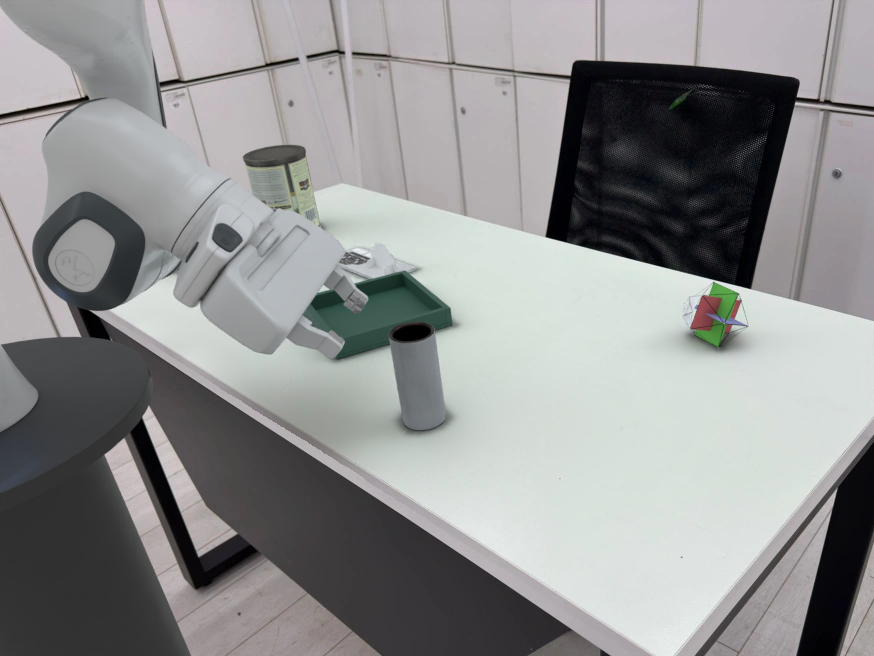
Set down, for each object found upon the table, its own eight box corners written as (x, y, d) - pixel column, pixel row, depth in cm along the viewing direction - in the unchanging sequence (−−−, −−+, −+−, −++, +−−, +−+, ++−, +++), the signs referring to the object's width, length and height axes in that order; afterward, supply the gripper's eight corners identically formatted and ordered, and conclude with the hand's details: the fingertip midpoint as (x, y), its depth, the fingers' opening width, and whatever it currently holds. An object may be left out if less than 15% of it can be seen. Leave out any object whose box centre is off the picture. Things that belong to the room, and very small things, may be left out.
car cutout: (416, 269, 114) (412, 241, 111) (381, 284, 110) (377, 255, 107) (359, 248, 123) (354, 222, 121) (325, 261, 119) (319, 234, 117)
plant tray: (337, 359, 91) (333, 341, 89) (302, 314, 102) (298, 297, 101) (452, 325, 97) (450, 307, 95) (407, 286, 108) (405, 270, 107)
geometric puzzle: (728, 301, 92) (702, 262, 87) (770, 320, 87) (744, 280, 82) (690, 344, 92) (662, 308, 87) (730, 367, 87) (701, 329, 82)
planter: (430, 435, 75) (417, 345, 70) (394, 425, 77) (378, 337, 72) (454, 412, 79) (443, 325, 73) (419, 403, 81) (406, 318, 75)
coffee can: (269, 225, 137) (250, 147, 129) (325, 220, 137) (310, 142, 130) (256, 245, 128) (235, 162, 121) (316, 240, 128) (299, 157, 121)
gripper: (253, 223, 79) (359, 303, 83) (164, 306, 62) (303, 402, 66) (284, 179, 76) (392, 264, 81) (200, 253, 59) (343, 357, 63)
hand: (352, 327), depth 73 cm, fingers open, 8 cm apart
